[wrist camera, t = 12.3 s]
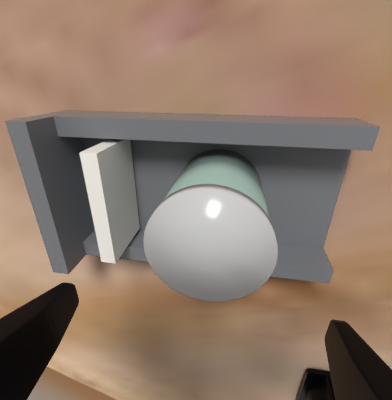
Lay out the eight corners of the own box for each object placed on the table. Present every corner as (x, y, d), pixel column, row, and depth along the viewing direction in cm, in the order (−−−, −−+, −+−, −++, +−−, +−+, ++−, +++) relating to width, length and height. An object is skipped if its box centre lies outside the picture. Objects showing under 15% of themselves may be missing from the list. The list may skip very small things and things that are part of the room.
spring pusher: (139, 228, 20) (115, 263, 16) (128, 226, 20) (101, 261, 17) (129, 136, 17) (96, 153, 13) (116, 135, 17) (79, 152, 13)
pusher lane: (318, 257, 19) (340, 310, 15) (90, 233, 22) (53, 272, 18) (356, 118, 15) (405, 135, 10) (64, 110, 18) (5, 121, 13)
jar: (257, 231, 19) (267, 309, 12) (177, 223, 20) (148, 293, 13) (269, 150, 16) (289, 197, 10) (176, 145, 17) (137, 185, 11)
